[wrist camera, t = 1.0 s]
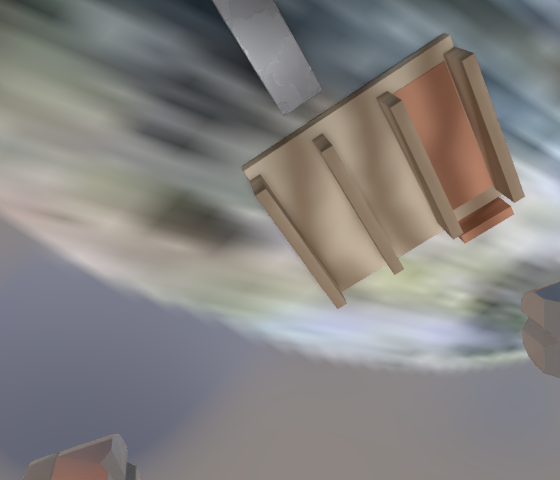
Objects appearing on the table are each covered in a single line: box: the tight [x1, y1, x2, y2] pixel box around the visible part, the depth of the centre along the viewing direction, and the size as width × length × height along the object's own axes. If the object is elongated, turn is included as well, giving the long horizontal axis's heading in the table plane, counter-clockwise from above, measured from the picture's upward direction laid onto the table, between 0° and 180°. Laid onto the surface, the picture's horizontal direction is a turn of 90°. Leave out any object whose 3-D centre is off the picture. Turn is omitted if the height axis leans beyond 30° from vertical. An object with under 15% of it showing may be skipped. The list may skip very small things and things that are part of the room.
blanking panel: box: [210, 0, 322, 116], centre depth 32 cm, size 3×12×7 cm, turn 32°
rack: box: [242, 34, 525, 309], centre depth 42 cm, size 19×17×4 cm
